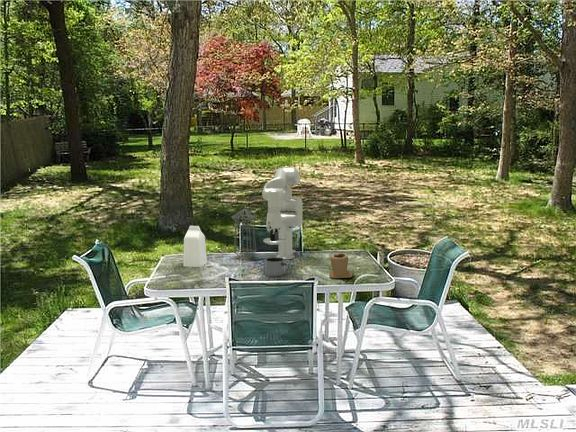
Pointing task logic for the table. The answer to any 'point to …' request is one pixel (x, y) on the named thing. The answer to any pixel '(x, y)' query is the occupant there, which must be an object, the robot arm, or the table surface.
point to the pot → (274, 266)
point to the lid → (277, 241)
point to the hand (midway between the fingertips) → (274, 239)
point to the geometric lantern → (242, 232)
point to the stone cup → (340, 266)
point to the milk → (194, 248)
